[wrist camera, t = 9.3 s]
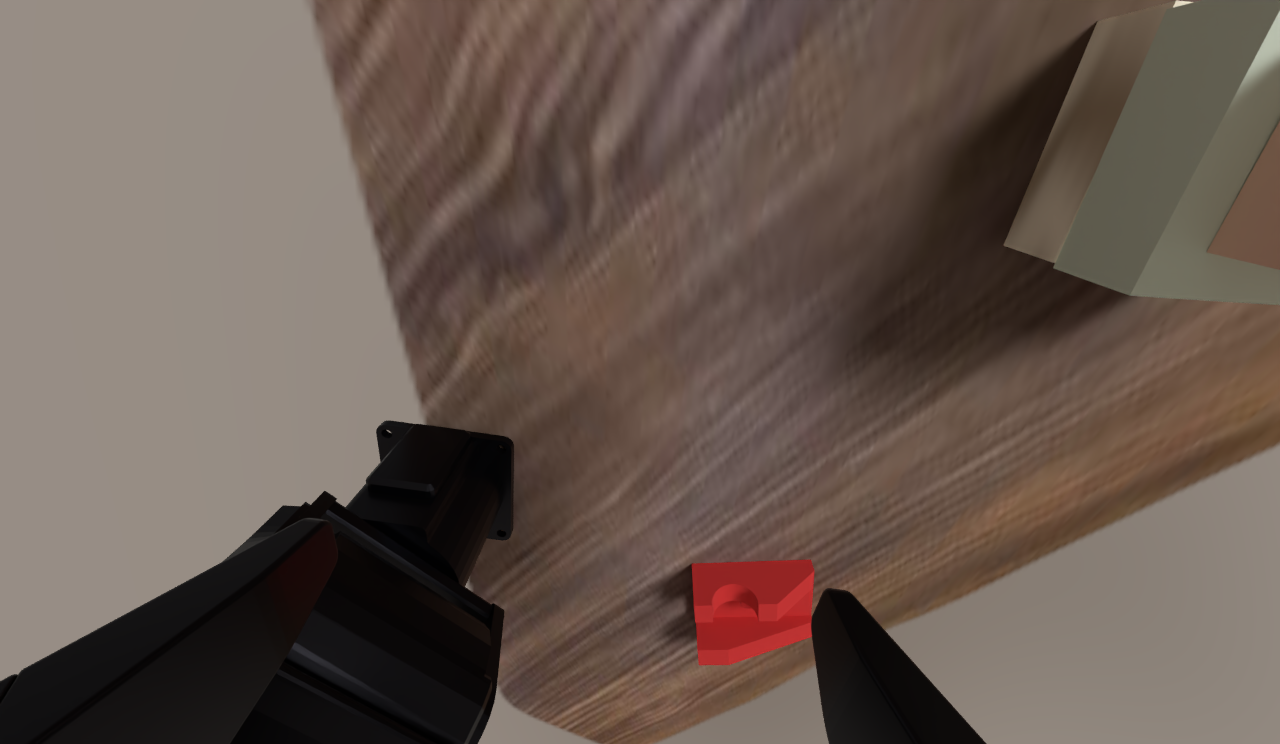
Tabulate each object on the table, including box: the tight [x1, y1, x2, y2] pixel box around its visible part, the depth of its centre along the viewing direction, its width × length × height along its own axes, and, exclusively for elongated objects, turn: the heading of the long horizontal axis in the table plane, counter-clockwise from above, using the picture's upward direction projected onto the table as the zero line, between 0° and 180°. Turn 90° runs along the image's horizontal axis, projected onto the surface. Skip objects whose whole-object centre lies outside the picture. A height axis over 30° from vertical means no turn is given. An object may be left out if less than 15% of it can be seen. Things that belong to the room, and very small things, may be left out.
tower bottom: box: [1003, 1, 1193, 263], centre depth 16 cm, size 7×7×3 cm
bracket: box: [692, 560, 814, 665], centre depth 26 cm, size 6×5×3 cm
